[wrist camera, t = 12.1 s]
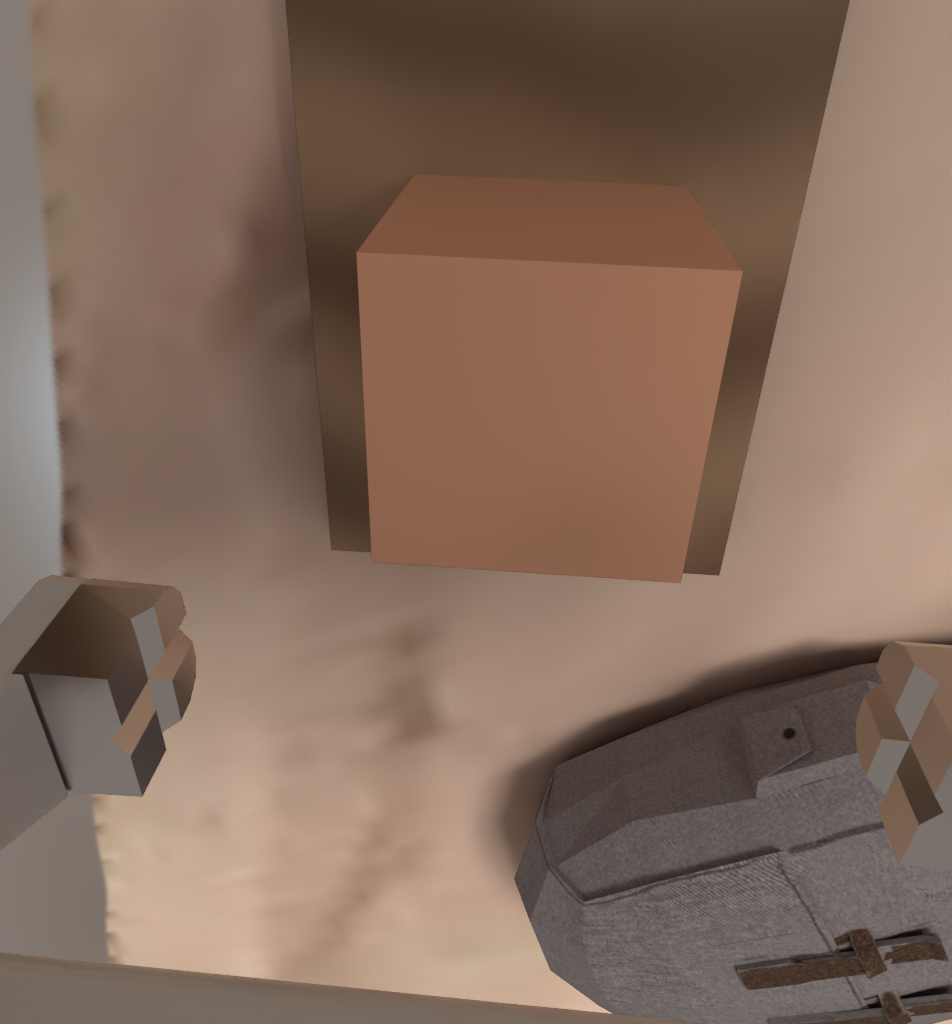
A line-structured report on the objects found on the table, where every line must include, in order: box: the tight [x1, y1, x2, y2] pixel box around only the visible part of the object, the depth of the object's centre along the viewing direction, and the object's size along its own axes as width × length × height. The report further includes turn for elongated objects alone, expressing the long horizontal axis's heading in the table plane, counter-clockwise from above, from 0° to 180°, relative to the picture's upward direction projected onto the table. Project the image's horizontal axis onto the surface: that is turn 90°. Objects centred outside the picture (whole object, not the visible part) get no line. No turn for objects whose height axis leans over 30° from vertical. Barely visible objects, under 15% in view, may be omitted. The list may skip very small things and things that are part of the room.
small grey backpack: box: [514, 662, 952, 1024], centre depth 29 cm, size 15×8×20 cm
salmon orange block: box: [356, 174, 743, 583], centre depth 18 cm, size 6×6×7 cm
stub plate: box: [286, 0, 850, 575], centre depth 20 cm, size 16×12×6 cm
